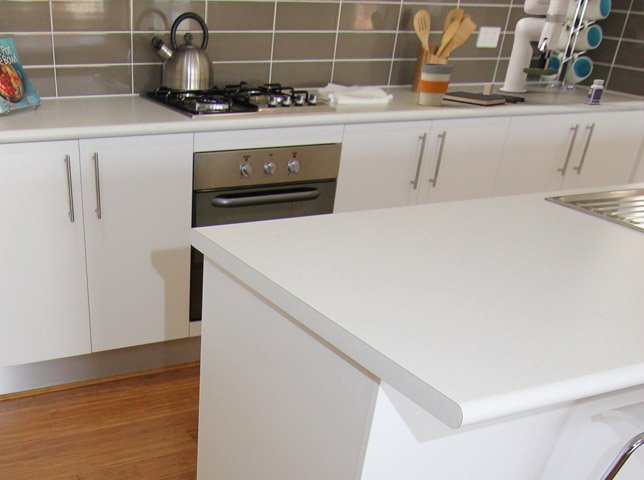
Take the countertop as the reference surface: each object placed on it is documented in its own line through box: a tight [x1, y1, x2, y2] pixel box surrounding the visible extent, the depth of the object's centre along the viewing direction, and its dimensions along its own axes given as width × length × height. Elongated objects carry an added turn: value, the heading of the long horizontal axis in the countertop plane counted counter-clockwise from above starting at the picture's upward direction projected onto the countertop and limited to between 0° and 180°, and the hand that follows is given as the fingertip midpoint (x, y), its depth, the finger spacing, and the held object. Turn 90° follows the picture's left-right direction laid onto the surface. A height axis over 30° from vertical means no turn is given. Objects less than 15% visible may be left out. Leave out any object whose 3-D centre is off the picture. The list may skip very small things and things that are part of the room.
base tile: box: [497, 94, 526, 104], centre depth 328 cm, size 12×10×2 cm
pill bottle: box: [585, 79, 605, 106], centre depth 327 cm, size 5×5×10 cm
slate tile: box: [475, 82, 504, 97], centre depth 331 cm, size 12×13×6 cm
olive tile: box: [523, 58, 560, 76], centre depth 316 cm, size 12×13×6 cm
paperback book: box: [443, 90, 507, 107], centre depth 321 cm, size 16×23×2 cm
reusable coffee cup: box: [419, 62, 454, 107], centre depth 305 cm, size 13×13×15 cm
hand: (542, 67), depth 316 cm, fingers closed on olive tile, 3 cm apart
